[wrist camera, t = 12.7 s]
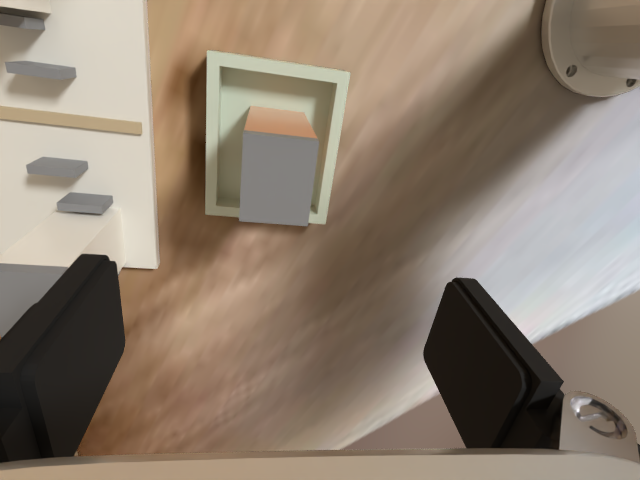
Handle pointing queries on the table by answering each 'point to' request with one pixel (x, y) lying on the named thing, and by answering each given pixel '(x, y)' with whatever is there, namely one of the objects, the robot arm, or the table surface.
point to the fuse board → (78, 120)
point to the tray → (271, 92)
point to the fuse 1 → (28, 5)
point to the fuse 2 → (54, 257)
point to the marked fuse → (277, 167)
